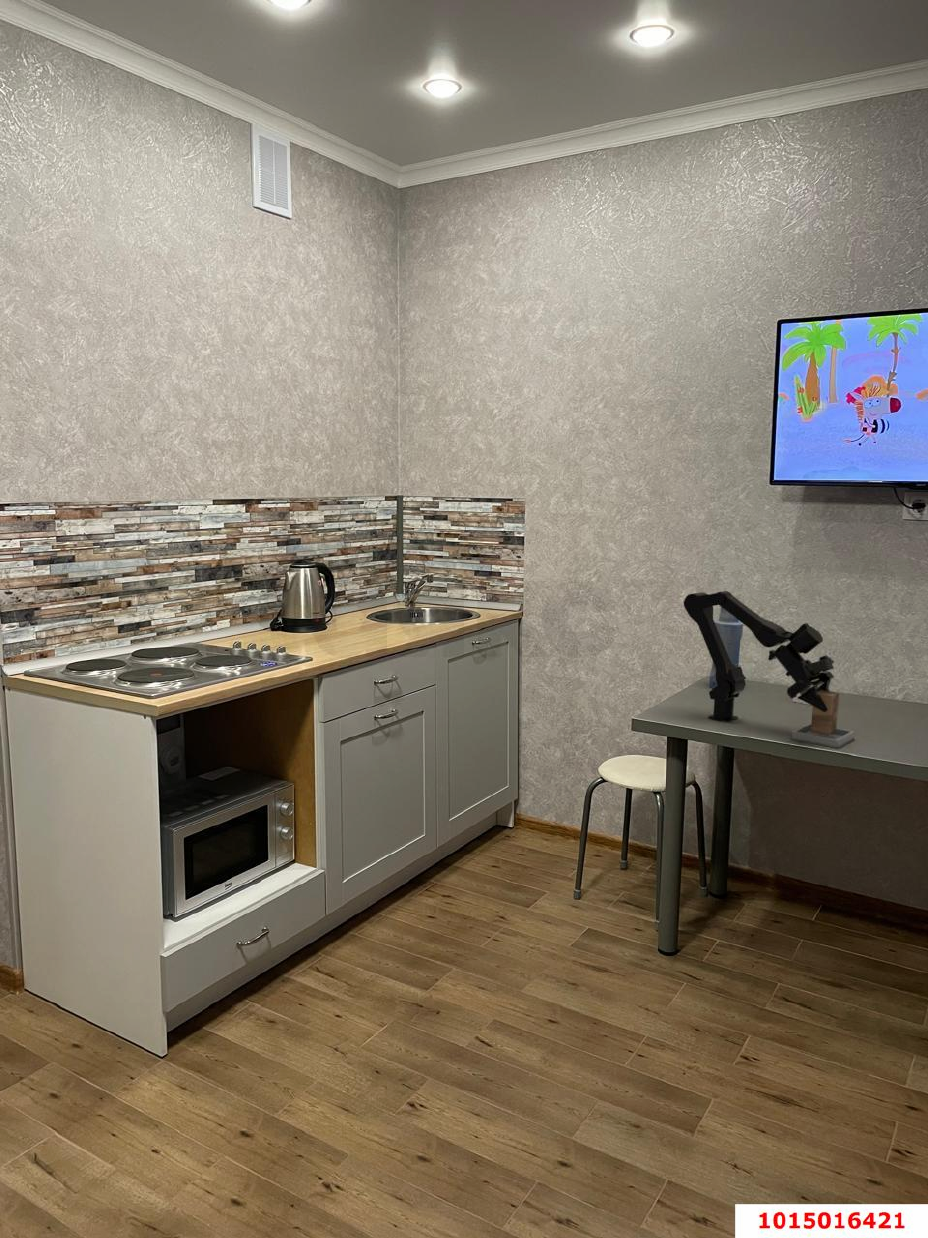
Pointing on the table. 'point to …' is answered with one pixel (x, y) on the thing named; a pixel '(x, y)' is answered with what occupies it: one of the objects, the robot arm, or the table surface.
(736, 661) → the bottle
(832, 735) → the tray
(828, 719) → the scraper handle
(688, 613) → the robot arm
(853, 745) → the table surface
